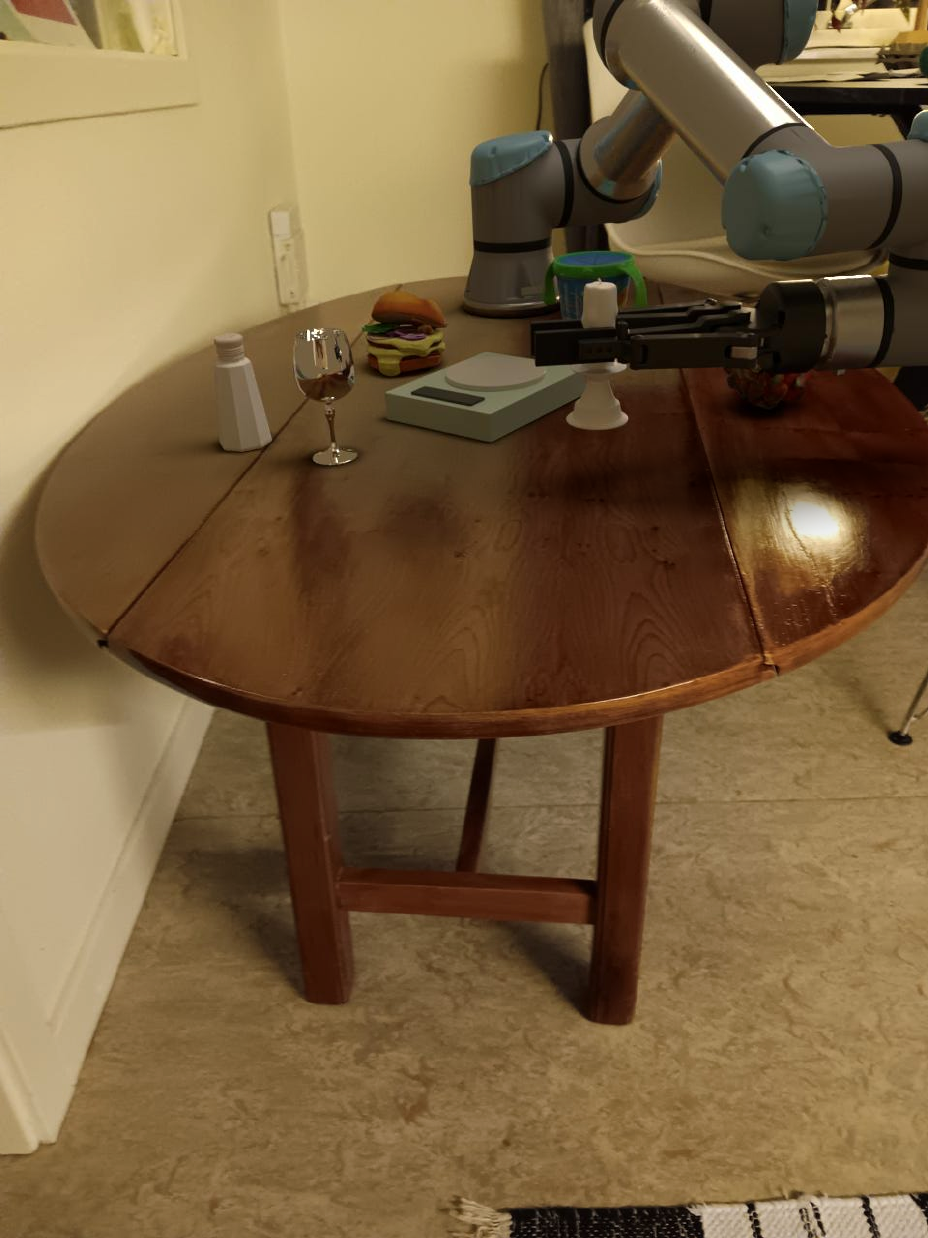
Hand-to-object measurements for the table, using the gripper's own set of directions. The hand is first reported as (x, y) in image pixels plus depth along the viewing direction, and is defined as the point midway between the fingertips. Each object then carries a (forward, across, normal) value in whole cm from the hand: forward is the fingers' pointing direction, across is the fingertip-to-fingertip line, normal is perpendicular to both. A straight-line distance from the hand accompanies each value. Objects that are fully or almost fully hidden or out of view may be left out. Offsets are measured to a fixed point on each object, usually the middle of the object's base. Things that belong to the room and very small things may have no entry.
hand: (533, 343), depth 79 cm
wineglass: (+19, +10, -13) cm, 25 cm away
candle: (-5, 0, -7) cm, 9 cm away
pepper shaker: (+28, +16, -13) cm, 35 cm away
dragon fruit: (-27, +18, -13) cm, 35 cm away
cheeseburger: (+12, +41, -13) cm, 45 cm away
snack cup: (-13, +49, -13) cm, 52 cm away
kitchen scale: (+3, +23, -13) cm, 26 cm away
